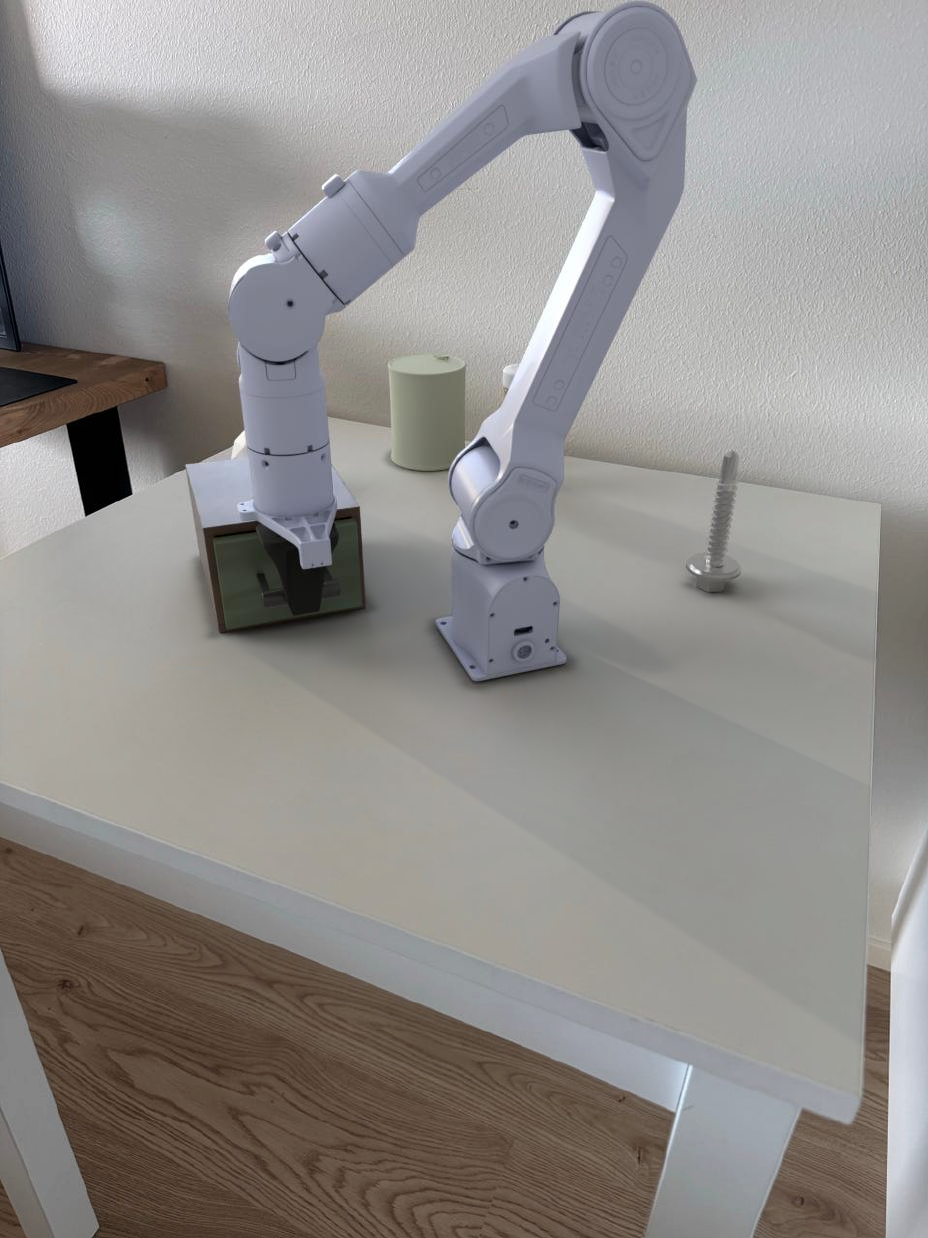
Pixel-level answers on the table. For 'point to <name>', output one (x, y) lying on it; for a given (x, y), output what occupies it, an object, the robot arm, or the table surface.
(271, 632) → the table surface
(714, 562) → the screw
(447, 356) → the can
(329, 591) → the drawer
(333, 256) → the robot arm
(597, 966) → the table surface
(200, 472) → the cabinet
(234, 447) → the geometric ball
